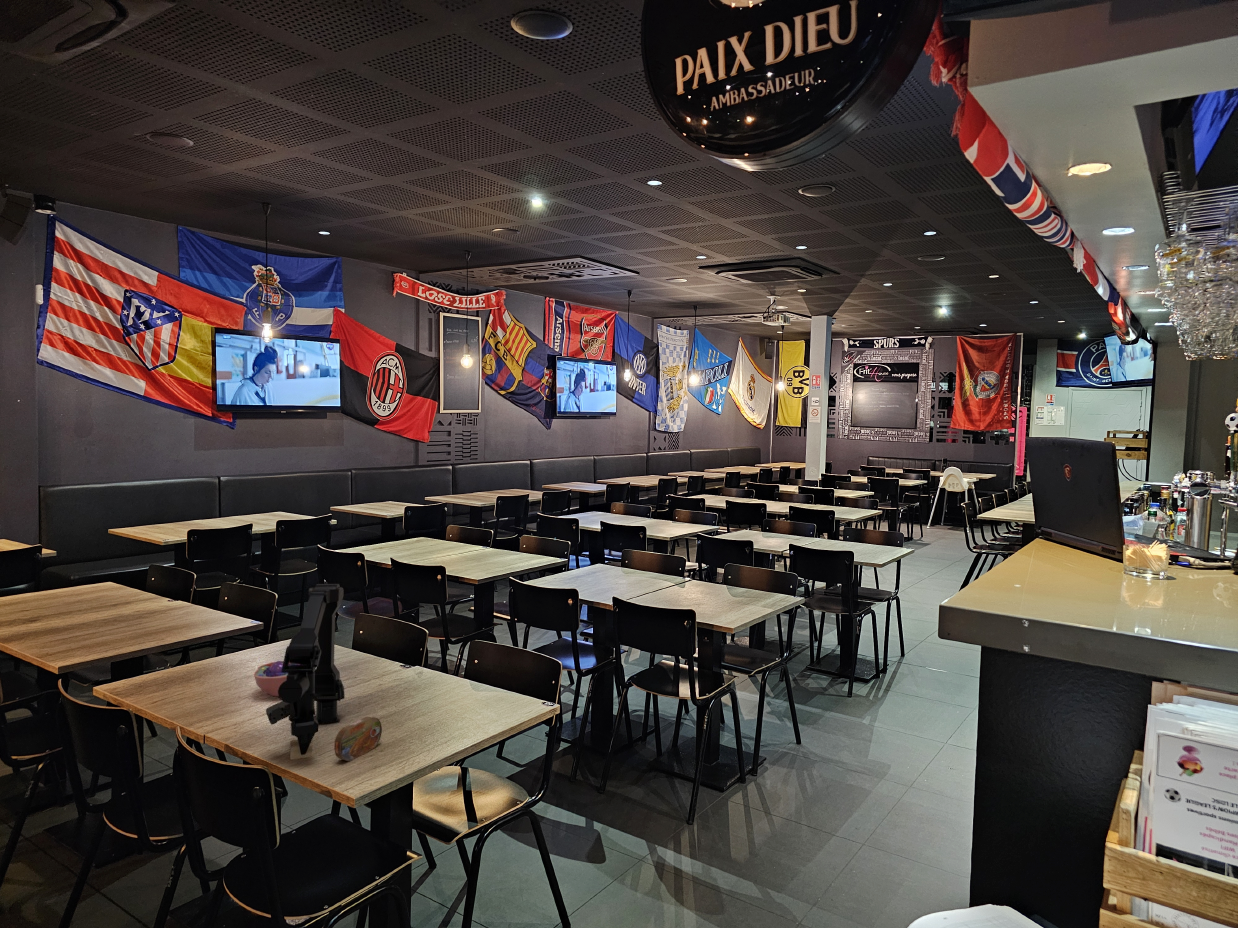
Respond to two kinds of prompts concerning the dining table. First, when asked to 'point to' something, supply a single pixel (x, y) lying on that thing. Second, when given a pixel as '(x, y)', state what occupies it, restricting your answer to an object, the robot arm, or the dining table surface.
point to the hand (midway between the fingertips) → (302, 749)
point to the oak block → (298, 750)
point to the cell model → (271, 677)
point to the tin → (358, 738)
